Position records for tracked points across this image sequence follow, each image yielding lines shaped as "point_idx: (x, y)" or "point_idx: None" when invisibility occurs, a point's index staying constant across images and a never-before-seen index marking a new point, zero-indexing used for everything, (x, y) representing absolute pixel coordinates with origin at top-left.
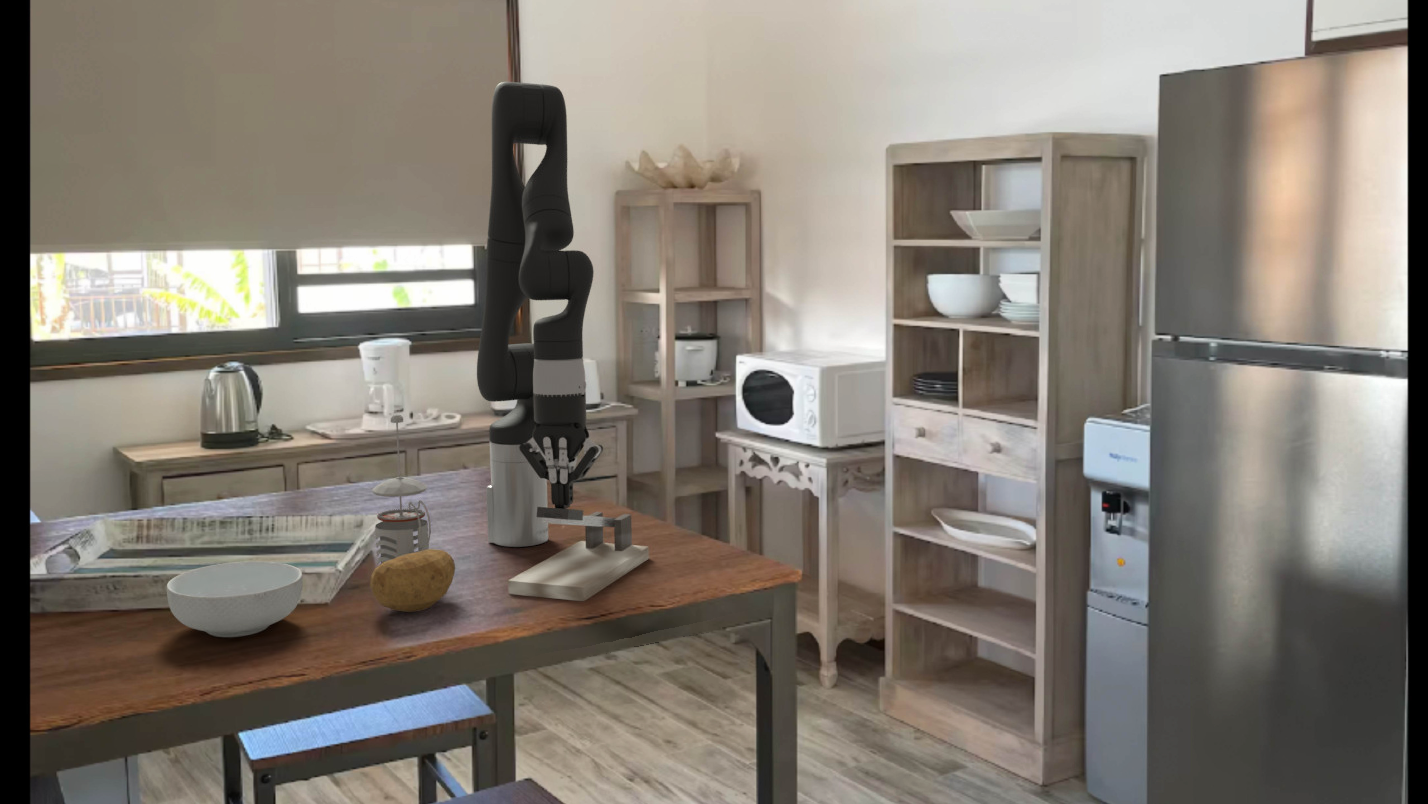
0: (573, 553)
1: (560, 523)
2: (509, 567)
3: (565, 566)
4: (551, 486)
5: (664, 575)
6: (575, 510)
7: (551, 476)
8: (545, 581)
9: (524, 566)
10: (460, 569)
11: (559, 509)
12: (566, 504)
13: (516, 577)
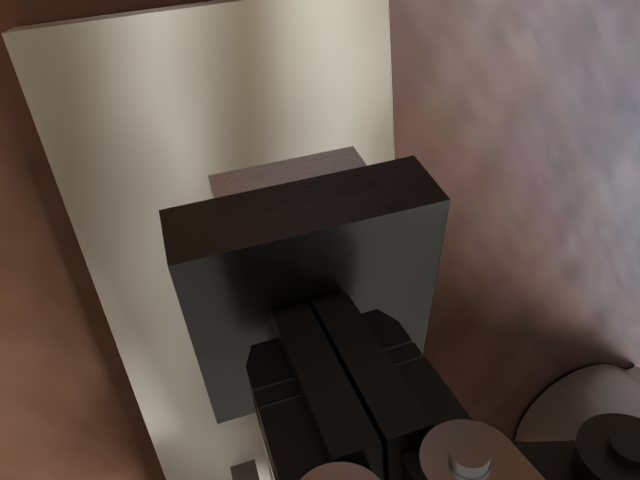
0: None
1: (213, 177)
2: (506, 240)
3: None
4: (456, 405)
5: (7, 431)
6: (194, 347)
7: (504, 477)
8: (234, 40)
9: (470, 269)
10: (626, 152)
11: (253, 239)
12: (265, 344)
13: (378, 36)
